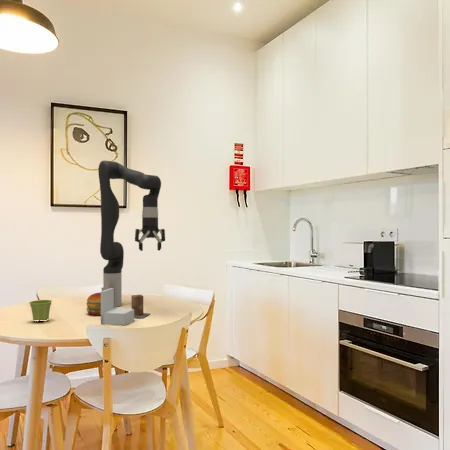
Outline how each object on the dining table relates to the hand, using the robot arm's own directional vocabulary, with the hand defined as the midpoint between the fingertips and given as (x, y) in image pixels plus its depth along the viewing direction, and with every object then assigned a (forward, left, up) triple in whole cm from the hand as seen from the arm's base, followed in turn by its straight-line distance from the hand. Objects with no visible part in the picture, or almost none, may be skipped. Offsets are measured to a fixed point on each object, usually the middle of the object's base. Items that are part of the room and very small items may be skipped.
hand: (150, 250), depth 215 cm
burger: (-23, -5, -30) cm, 38 cm away
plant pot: (-41, -26, -30) cm, 57 cm away
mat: (-3, -8, -30) cm, 31 cm away
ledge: (-7, -21, -30) cm, 37 cm away
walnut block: (-3, -8, -30) cm, 31 cm away
